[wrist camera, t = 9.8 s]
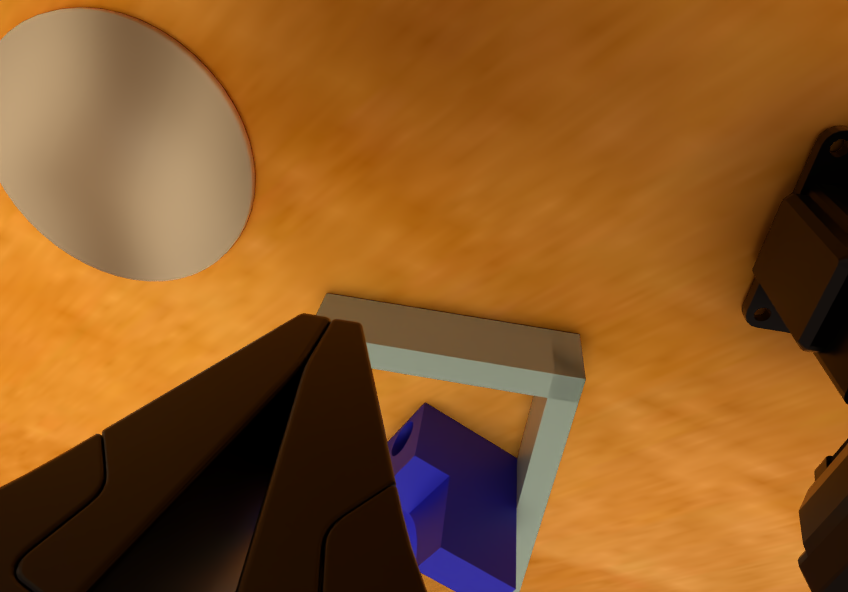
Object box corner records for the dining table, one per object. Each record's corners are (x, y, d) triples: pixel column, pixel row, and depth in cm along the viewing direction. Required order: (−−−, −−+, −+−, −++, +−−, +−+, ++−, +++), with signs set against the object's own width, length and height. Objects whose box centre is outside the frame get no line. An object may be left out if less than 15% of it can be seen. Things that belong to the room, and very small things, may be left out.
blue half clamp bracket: (425, 399, 25) (401, 525, 20) (517, 455, 26) (516, 589, 21) (286, 547, 31) (241, 673, 26) (365, 588, 32) (335, 718, 27)
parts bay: (579, 334, 23) (585, 378, 20) (493, 629, 32) (491, 680, 30) (326, 293, 23) (307, 332, 21) (315, 596, 33) (301, 644, 30)
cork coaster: (251, 30, 19) (246, 32, 18) (258, 293, 23) (254, 299, 23) (-47, -13, 19) (-57, -12, 19) (20, 254, 24) (13, 259, 24)
